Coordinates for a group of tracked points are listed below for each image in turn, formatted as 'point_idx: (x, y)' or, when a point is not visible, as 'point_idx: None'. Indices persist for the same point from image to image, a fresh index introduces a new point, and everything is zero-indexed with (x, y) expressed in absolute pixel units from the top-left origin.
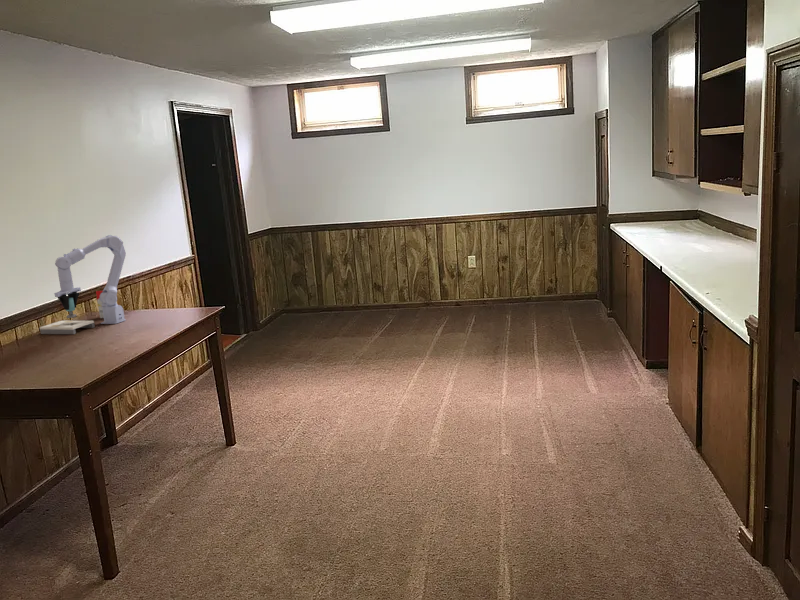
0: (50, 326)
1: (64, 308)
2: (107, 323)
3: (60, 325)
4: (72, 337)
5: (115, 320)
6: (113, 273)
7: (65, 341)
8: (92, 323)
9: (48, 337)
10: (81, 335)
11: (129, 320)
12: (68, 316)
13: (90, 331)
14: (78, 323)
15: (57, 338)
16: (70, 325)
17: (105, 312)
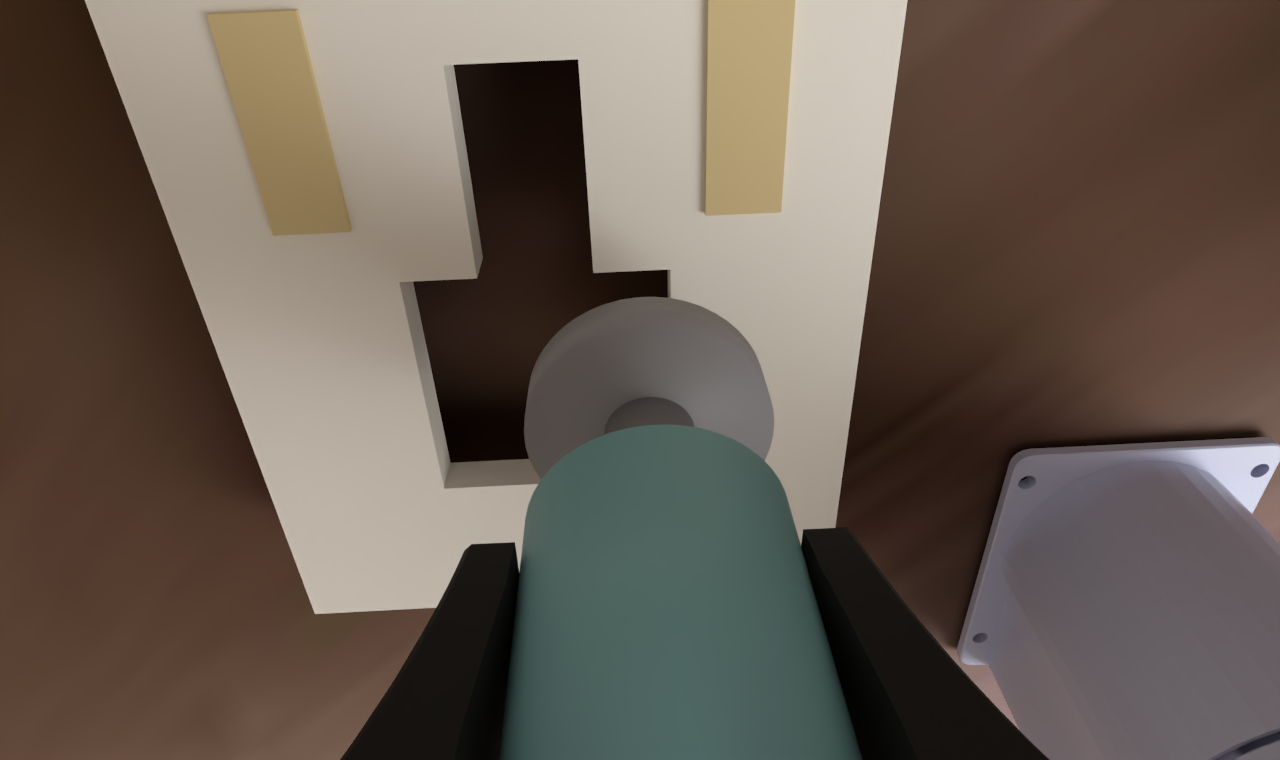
0: (196, 6)
1: (451, 583)
2: (981, 563)
3: (370, 228)
4: (208, 638)
5: (1003, 678)
6: None
7: (33, 697)
8: None
9: (6, 264)
10: (332, 667)
11: None
12: (528, 446)
13: None
14: None
15: (61, 486)
16: (426, 466)
17: (1085, 704)
